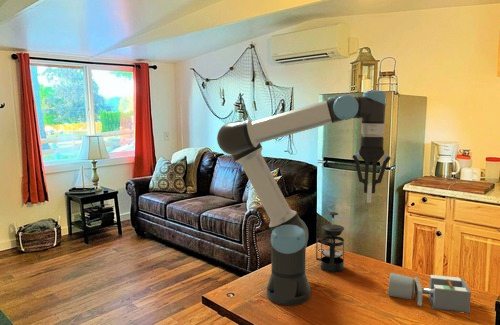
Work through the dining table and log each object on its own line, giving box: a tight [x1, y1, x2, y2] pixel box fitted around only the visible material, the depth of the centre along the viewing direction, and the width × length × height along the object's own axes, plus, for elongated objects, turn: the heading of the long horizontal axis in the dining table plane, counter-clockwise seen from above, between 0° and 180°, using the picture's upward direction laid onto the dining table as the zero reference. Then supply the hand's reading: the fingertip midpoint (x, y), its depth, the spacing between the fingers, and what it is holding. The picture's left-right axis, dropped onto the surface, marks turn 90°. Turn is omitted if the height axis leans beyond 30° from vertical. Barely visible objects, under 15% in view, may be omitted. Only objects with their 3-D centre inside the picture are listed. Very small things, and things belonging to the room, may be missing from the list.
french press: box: [315, 211, 345, 274], centre depth 151 cm, size 12×9×23 cm
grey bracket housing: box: [427, 274, 472, 314], centre depth 122 cm, size 10×10×7 cm
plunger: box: [413, 276, 453, 307], centre depth 123 cm, size 12×11×7 cm
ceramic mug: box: [387, 272, 415, 300], centre depth 129 cm, size 11×8×8 cm
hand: (368, 201), depth 134 cm, fingers closed
